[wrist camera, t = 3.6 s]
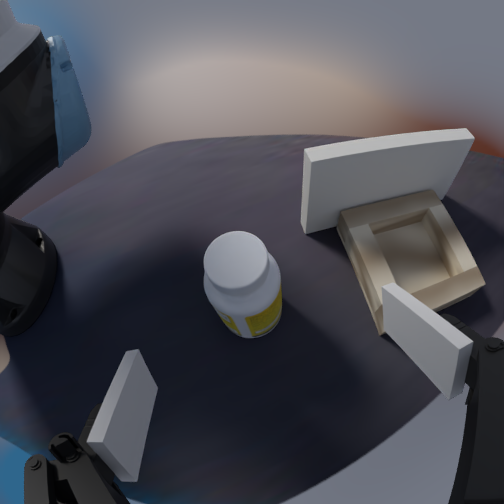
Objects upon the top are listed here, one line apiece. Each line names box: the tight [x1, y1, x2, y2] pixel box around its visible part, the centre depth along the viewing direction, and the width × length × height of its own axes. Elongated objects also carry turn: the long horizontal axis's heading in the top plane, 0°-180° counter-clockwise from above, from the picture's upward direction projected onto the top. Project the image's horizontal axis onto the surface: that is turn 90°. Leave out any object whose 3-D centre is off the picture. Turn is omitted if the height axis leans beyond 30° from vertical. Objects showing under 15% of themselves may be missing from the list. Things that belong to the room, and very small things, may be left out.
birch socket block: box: [336, 190, 485, 335], centre depth 26 cm, size 12×12×3 cm
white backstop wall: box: [301, 128, 475, 234], centre depth 26 cm, size 2×18×10 cm, turn 103°
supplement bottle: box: [204, 231, 282, 338], centre depth 23 cm, size 5×5×10 cm
